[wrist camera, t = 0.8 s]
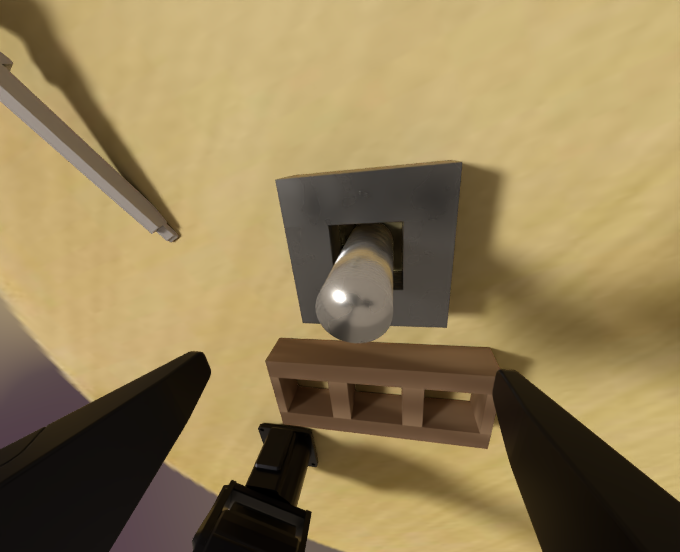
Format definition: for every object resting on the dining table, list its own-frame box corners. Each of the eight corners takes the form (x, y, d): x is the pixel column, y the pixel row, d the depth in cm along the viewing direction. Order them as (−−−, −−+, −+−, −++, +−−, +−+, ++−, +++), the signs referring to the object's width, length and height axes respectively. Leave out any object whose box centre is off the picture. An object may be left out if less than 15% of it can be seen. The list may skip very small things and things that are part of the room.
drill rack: (477, 415, 24) (487, 449, 21) (294, 397, 27) (283, 424, 25) (489, 347, 20) (504, 377, 18) (279, 337, 24) (265, 360, 21)
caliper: (-55, -25, 16) (-283, -113, 11) (-50, -40, 16) (-286, -141, 10) (175, 241, 22) (101, 271, 16) (182, 234, 22) (109, 263, 16)
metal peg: (393, 263, 19) (393, 345, 11) (350, 264, 19) (320, 341, 12) (393, 219, 17) (392, 277, 10) (346, 222, 18) (310, 277, 10)
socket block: (439, 303, 19) (446, 327, 17) (314, 301, 22) (302, 323, 19) (450, 160, 15) (462, 161, 13) (293, 175, 17) (275, 179, 15)
